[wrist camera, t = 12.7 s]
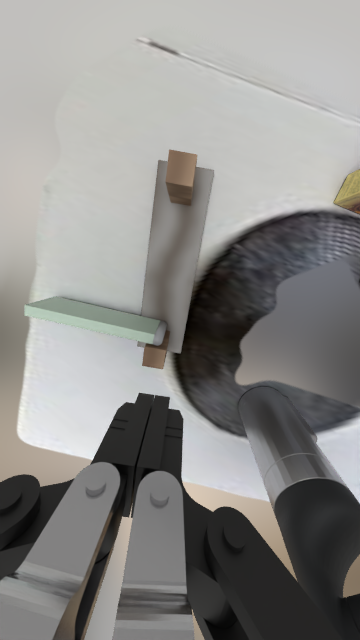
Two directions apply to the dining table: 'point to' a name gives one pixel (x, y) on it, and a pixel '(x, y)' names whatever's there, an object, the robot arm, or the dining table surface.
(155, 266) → the gate frame
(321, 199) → the dining table surface
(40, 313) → the gate
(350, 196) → the candy box
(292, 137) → the dining table surface
